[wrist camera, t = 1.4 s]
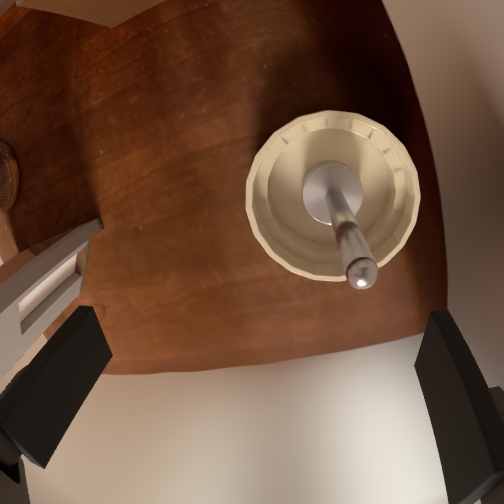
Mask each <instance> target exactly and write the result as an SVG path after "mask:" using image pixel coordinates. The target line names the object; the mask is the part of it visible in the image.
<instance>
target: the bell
mask: <svg viewBox="0 0 504 504" xmlns="http://www.w3.org/2000/svg"><path fill="white" fill-rule="evenodd" d="M18 188H19V170H18V165H17V161H16V160H15V158H14V156H13V154H12V152H11V149H10V147H9V146H8V145H7V144H6V143H4V142H2V141H0V212H4V211H6V210H9V209H10V208H11V207H12V205H13V204H14V202H15V200H16V198H17V194H18Z"/></svg>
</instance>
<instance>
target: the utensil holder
mask: <svg viewBox="0 0 504 504" xmlns="http://www.w3.org/2000/svg"><path fill="white" fill-rule="evenodd" d="M164 1H166V0H16V4H17V6H19V7H25V8H31V9H36V10H42V11H47V12H52V13H56V14H61V15H65V16H69V17H73V18H77V19H81V20H85V21H89V22H92V23H96V24H99V25H103V26H106V27H109V28H113V27H115V26H117V25H119V24H121V23H122V22H124V21H126V20H128V19H130V18H132V17H133V16H135V15H137V14H139V13H141V12H143V11H145V10H147V9H149V8H151V7H153V6H155V5H158V4H160V3H162V2H164Z"/></svg>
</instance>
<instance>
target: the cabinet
mask: <svg viewBox="0 0 504 504" xmlns="http://www.w3.org/2000/svg"><path fill="white" fill-rule="evenodd" d="M102 229H104V228H103V226H102V223H101V221H100V219H99V218H97V219H94V220H92V221H89V222H87V223H84V224H82V225H80V226H77V227H75V228H72V229H70V230H68V231H65V232H63V233H61V234H59V235H56V236H54V237H52V238H50V239H47V240H45V241H43V242H41V243H38V244H36V245H34V246H32V247H30V248H28V249H26V250H23V251H21V252H19V253H18V254H16V255H15V256H13V257H12V258H11V259H9V260H8V261H7V262H5V263H4V264H2V265H1V266H0V382H1V381H2V379H3V378H4V377H5V376H6V375H7V374H8V372H9V371H10V370H11V369H12V367H13V366H14V365H15V364H16V363H17V362H18V360H19V359H20V358H21V357H22V356H23V355H24V353H25V352H26V351H27V350H28V349H29V348H30V346H31V345H32V344H33V343H34V342H35V341H36V340H37V339H38V337H39V336H40V335H41V334H42V333H43V332H44V331H45V330H46V329H47V328H48V326H49V325H50V324H51V323H52V322H53V321H54V320H55V319H56V318H57V317H58V316H59V315H60V314H61V313H62V311H63V310H64V309H65V308H66V307H67V306H68V305H69V304H70V303H71V302H72V301H73V300H74V299H75V298H76V297H77V296H78V295H79V294H80V293H81V292H82V285H83V277H84V270H85V263H86V256H87V250H88V244H89V239H90V238H91V237H93V236H94V235H95V234H97V233H98V232H99V231H101V230H102Z"/></svg>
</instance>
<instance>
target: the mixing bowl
mask: <svg viewBox="0 0 504 504" xmlns="http://www.w3.org/2000/svg"><path fill="white" fill-rule="evenodd" d="M324 160H336V161H340V162H342V163H344V164H346V165H347V166H348V167H350V168H351V169H352V171H353V172H354V173H355V174H356V175H357V177H358V178H359V180H360V181H361V184H362V186H363V192H364V197H363V202H362V205H361V208H360V209H359V211H358V212H357V214H356V215H355V216H354V217H355V219H356V221H357V223H358V225H359V227H360V229H361V231H362V233H363V235H364V238H365V240H366V242H367V244H368V246H369V248H370V251H371V253H372V255H373V257H374V259H375V262H376V264H377V266H378V268H379V267H381V266H383V265H385V264H386V263H387V262H388V261H389V260H390V259H391V258H392V257H393V256H394V255H395V254H396V253H397V252H398V251H399V250H400V249H401V248H402V247H403V246H404V245H405V243H406V241H407V239H408V237H409V235H410V233H411V231H412V230H413V228H414V226H415V223H416V219H417V214H418V209H419V203H420V189H419V182H418V175H417V170H416V168H415V166H414V164H413V162H412V160H411V158H410V156H409V154H408V152H407V150H406V148H405V146H404V145H403V144H402V143H401V142H400V141H399V140H398V139H397V138H396V137H395V136H394V135H393V134H392V133H391V132H390V131H389V130H388V129H387V128H386V127H385V126H383V125H381V124H379V123H377V122H375V121H373V120H371V119H369V118H367V117H365V116H363V115H360V114H357V113H351V112H343V111H333V110H320V111H316V112H312V113H307V114H303V115H299V116H297V117H295V118H294V119H292V120H291V121H289V122H287V123H286V124H284V125H283V126H281V127H279V128H278V129H277V130H276V131H275V132H274V133H273V134H272V135H271V137H270V138H269V139H268V140H267V141H266V143H265V144H264V145H263V147H262V148H261V149H260V150H259V152H258V153H257V154H256V156H255V158H254V161H253V164H252V167H251V169H250V172H249V175H248V178H247V181H246V212H247V215H248V218H249V221H250V224H251V227H252V230H253V234H254V235H255V237H256V238H257V240H258V241H259V242H260V244H261V245H262V247H263V248H264V249H265V251H266V252H267V253H268V255H269V256H270V257H272V258H273V259H274V260H276V261H277V262H278V263H280V264H281V265H282V266H284V267H285V268H286V269H288V270H289V271H291V272H294V273H296V274H299V275H302V276H305V277H307V278H310V279H314V280H325V281H344V280H347V279H346V275H345V271H344V267H343V263H342V259H341V255H340V252H339V248H338V244H337V240H336V237H335V233H334V229H333V226H332V225H331V224H325V223H322V222H319V221H317V220H316V219H314V218H313V217H312V216H311V215H310V214H309V213H308V211H307V210H306V208H305V206H304V203H303V197H302V182H303V179H304V176H305V174H306V172H307V171H308V170H309V169H310V168H311V167H312V166H313V165H315V164H316V163H318V162H321V161H324Z"/></svg>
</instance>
